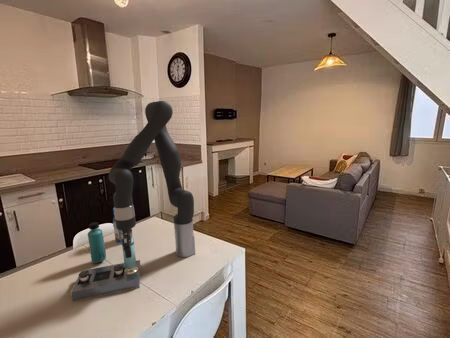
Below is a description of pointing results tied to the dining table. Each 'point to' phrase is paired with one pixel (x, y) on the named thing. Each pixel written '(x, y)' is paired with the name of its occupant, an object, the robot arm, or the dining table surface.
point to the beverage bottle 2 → (117, 231)
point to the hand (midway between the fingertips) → (129, 253)
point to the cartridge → (132, 260)
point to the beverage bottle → (96, 243)
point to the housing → (106, 282)
